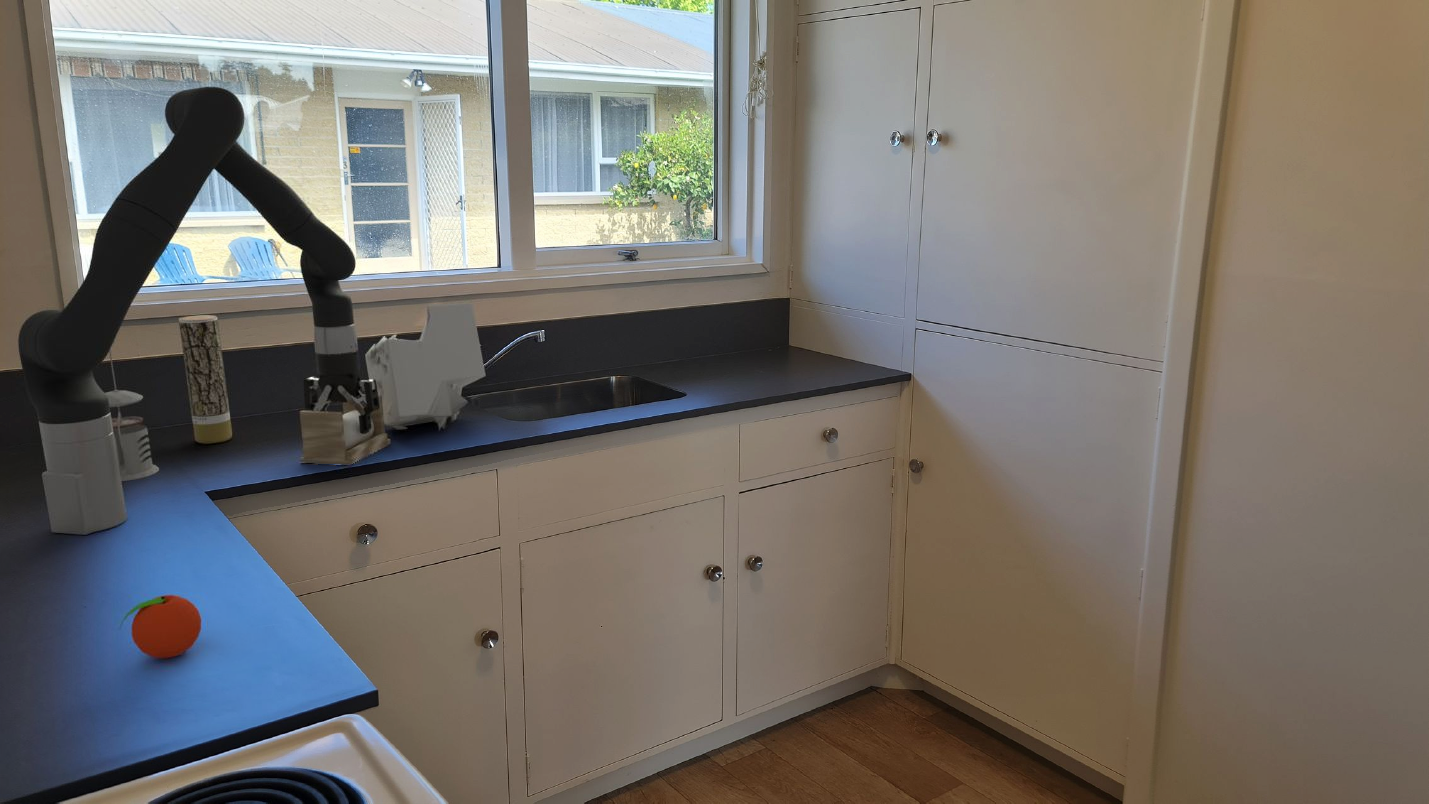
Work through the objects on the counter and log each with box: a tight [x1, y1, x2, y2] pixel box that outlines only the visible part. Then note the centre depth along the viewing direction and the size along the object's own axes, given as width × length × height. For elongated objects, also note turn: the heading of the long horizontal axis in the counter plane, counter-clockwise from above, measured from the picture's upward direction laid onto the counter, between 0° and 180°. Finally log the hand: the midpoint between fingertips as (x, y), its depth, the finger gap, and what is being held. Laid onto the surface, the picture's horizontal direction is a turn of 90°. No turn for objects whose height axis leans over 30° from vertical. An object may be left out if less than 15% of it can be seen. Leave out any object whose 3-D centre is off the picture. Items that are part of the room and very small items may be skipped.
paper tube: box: [178, 314, 233, 445], centre depth 196 cm, size 7×7×25 cm
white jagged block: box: [364, 301, 487, 431], centre depth 205 cm, size 20×16×25 cm
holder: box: [299, 393, 392, 465], centre depth 188 cm, size 15×10×10 cm, turn 169°
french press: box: [104, 340, 160, 482], centre depth 175 cm, size 10×12×25 cm
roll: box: [342, 410, 374, 450], centre depth 189 cm, size 11×6×6 cm, turn 168°
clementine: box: [118, 594, 202, 659], centre depth 111 cm, size 8×7×7 cm
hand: (344, 431), depth 188 cm, fingers open, 8 cm apart
